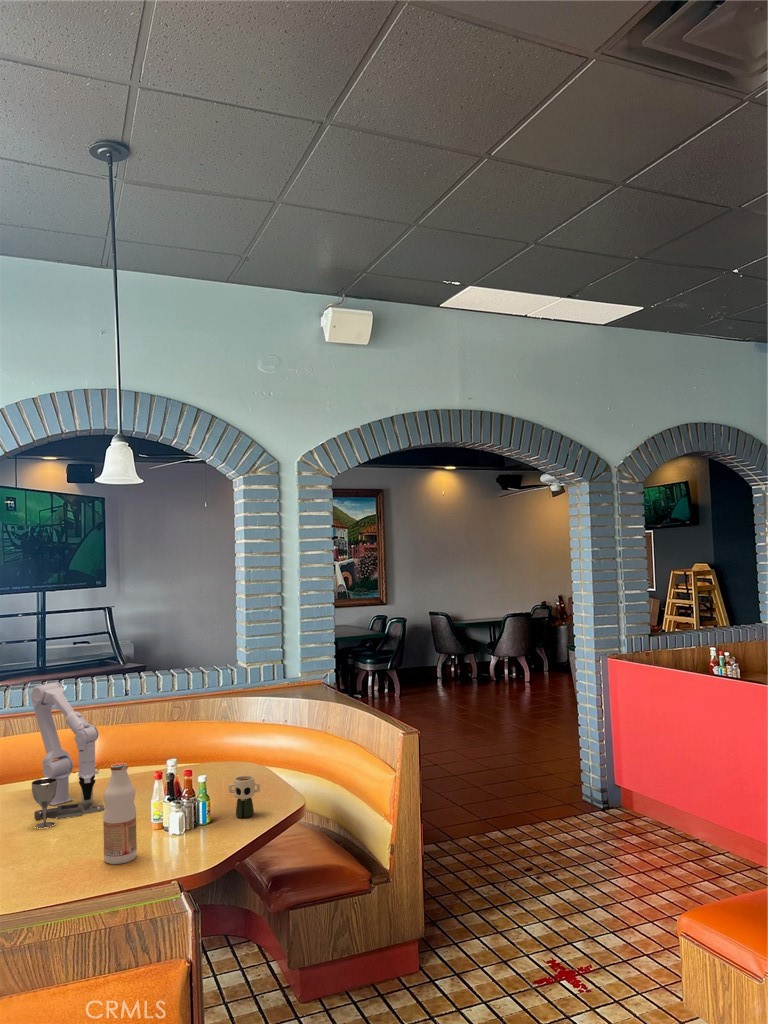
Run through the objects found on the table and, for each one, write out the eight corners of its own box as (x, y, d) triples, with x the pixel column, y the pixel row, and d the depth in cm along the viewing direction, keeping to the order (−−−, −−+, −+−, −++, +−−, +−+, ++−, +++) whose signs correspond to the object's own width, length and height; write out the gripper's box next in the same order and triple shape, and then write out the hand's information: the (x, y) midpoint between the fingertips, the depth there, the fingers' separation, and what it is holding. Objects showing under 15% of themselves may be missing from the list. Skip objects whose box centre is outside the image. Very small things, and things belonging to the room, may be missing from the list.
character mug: (227, 820, 265) (226, 781, 266) (231, 813, 272) (230, 775, 273) (258, 819, 265) (257, 780, 266) (262, 812, 272) (261, 774, 273)
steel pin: (79, 806, 285) (79, 781, 286) (90, 803, 288) (89, 778, 289) (84, 808, 282) (84, 783, 283) (95, 805, 285) (94, 780, 286)
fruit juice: (107, 867, 227) (106, 770, 229) (100, 857, 235) (99, 763, 237) (140, 860, 232) (139, 765, 234) (132, 850, 240) (131, 758, 242)
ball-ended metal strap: (33, 822, 268) (33, 815, 269) (34, 815, 276) (34, 809, 276) (104, 812, 277) (104, 805, 277) (103, 806, 285) (103, 799, 285)
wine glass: (62, 823, 267) (62, 779, 268) (43, 830, 260) (43, 785, 261) (45, 820, 271) (45, 776, 271) (26, 828, 263) (26, 783, 264)
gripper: (99, 763, 281) (99, 801, 280) (97, 754, 294) (98, 790, 294) (78, 766, 278) (78, 804, 278) (77, 756, 292) (78, 793, 291)
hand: (87, 797), depth 285 cm, fingers closed on steel pin, 4 cm apart
